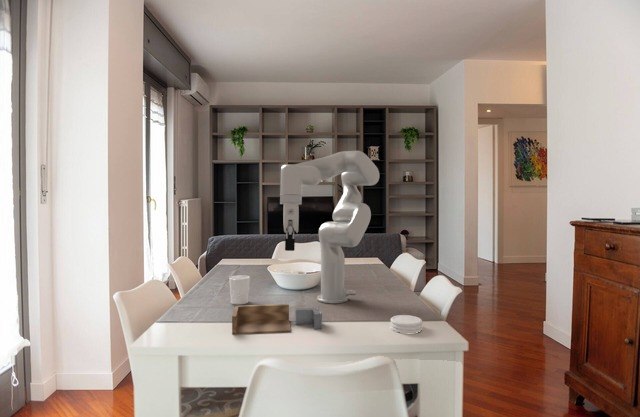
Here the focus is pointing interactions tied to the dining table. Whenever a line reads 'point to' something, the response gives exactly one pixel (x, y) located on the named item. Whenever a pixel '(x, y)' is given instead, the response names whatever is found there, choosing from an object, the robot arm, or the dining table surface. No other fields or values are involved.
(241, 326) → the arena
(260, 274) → the dining table surface
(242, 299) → the white cup
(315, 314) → the bracket
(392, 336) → the dining table surface
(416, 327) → the coaster
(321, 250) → the robot arm
